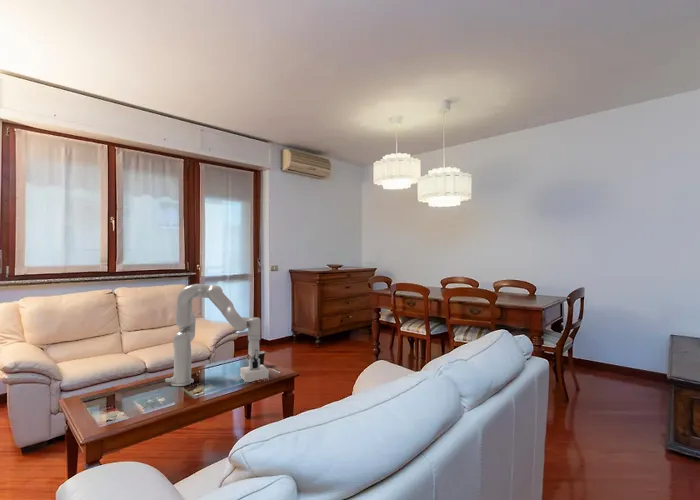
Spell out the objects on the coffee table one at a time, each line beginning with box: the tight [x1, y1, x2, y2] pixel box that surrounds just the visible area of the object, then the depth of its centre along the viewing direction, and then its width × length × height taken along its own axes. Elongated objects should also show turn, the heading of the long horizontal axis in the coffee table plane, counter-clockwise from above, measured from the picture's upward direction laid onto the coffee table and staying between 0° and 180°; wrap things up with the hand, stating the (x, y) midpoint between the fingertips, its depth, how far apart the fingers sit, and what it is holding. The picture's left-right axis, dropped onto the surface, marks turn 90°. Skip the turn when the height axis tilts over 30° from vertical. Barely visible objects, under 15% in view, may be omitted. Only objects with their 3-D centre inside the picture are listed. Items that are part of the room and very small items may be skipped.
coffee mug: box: [246, 350, 266, 365], centre depth 252 cm, size 12×9×10 cm
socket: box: [239, 364, 269, 383], centre depth 226 cm, size 14×14×6 cm
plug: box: [248, 358, 260, 370], centre depth 226 cm, size 6×4×10 cm, turn 119°
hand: (254, 366), depth 226 cm, fingers closed on plug, 3 cm apart
